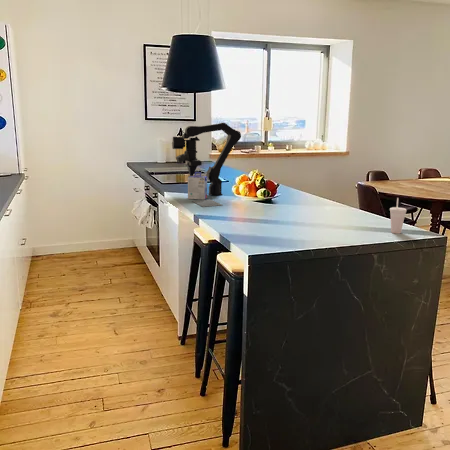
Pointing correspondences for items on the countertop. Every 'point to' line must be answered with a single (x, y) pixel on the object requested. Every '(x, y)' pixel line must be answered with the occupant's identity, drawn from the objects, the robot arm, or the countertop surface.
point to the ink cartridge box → (197, 186)
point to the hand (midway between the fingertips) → (191, 176)
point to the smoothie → (397, 218)
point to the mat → (207, 203)
